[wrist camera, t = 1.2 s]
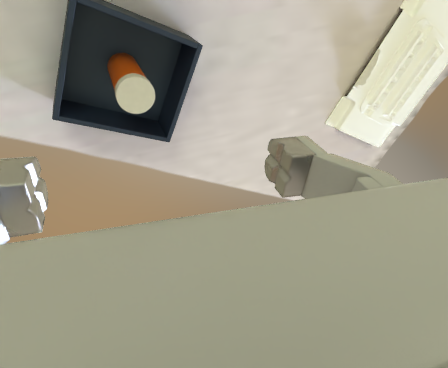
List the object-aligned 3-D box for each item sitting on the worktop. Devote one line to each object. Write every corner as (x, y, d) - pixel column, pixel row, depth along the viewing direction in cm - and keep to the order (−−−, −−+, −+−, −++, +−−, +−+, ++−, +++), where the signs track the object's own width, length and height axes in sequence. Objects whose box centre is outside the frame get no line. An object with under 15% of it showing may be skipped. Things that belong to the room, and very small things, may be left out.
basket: (53, 100, 38) (52, 119, 34) (69, -14, 33) (70, -8, 28) (160, 124, 46) (169, 142, 41) (188, 35, 40) (203, 45, 36)
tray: (470, 26, 59) (489, 30, 56) (376, 145, 71) (388, 153, 69) (423, -32, 48) (444, -30, 45) (321, 121, 60) (332, 130, 57)
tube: (103, 78, 39) (112, 109, 31) (110, 47, 37) (121, 71, 30) (134, 87, 41) (149, 117, 33) (142, 57, 39) (159, 83, 32)
